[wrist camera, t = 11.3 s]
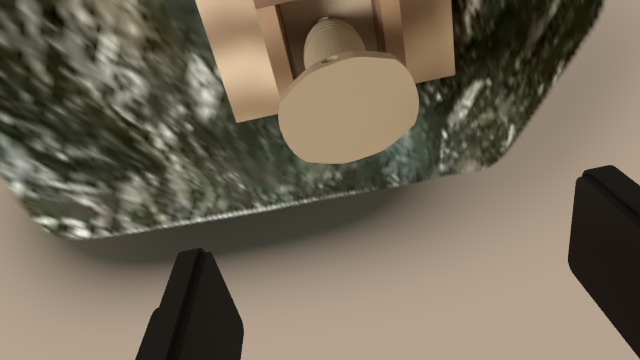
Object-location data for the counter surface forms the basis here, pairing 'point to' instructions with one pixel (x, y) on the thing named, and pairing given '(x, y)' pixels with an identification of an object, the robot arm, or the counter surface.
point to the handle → (346, 98)
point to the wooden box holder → (291, 33)
